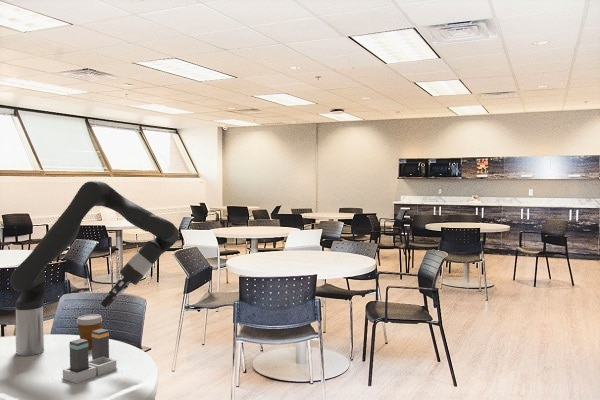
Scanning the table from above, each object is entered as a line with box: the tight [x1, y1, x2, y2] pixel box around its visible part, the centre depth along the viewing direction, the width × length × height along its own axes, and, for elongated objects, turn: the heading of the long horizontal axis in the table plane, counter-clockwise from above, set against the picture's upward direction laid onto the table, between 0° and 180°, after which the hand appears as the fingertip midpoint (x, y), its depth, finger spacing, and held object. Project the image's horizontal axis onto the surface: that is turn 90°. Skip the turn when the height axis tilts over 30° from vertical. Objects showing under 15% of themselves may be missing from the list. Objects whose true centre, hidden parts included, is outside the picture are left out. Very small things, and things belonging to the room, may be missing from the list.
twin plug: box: [68, 338, 90, 373], centre depth 173 cm, size 4×4×12 cm
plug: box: [91, 328, 110, 360], centre depth 189 cm, size 4×4×12 cm
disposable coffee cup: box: [76, 313, 103, 351], centre depth 208 cm, size 10×10×12 cm
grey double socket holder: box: [61, 357, 118, 385], centre depth 177 cm, size 8×16×4 cm, turn 147°
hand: (104, 305), depth 185 cm, fingers open, 8 cm apart
